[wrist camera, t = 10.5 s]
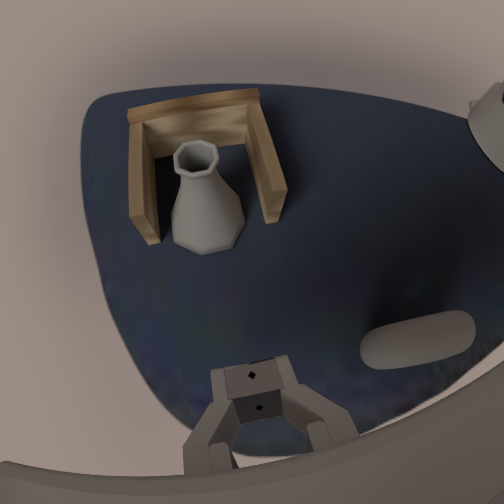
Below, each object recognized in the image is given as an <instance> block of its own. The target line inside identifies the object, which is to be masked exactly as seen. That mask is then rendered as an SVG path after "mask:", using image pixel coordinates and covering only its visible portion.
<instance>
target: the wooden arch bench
mask: <svg viewBox="0 0 504 504" xmlns="http://www.w3.org/2000/svg"><path fill="white" fill-rule="evenodd" d="M259 102H260V94H259V91H258V89H257V88H252V89H241V90H232V91H224V92H216V93H209V94H202V95H196V96H189V97H184V98H178V99H173V100H167V101H162V102H158V103H153V104H148V105H144V106H140V107H135V108H131V109H128V115H127V118H128V121H129V123H130V135H129V217H130V219H131V220H132V222H133V223H134V224H135V226H136V227H137V229H138V230H139V232H140V233H141V235H142V236H143V237H144V239H145V240H146V242H147V243H148V245H152V244H157V243H161V238H160V228H159V217H158V205H157V191H156V176H155V159H156V158H160V157H165V156H170V155H174V153H175V152H176V150H177V149H178V148H179V146H180V145H181V144H182V142H186V141H191V140H196V139H203V140H206V141H209V142H212V143H214V144H217V147H222V146H229V145H236V144H243V143H245V146H246V149H247V153H248V157H249V161H250V165H251V169H252V172H253V176H254V180H255V184H256V188H257V192H258V196H259V200H260V203H261V207H262V211H263V215H264V219H265V223H266V224H268V223H274V222H278V220H279V217H280V213H281V210H282V207H283V203H284V200H285V196H286V193H287V190H288V189H287V186H286V182H285V179H284V176H283V173H282V170H281V166H280V163H279V160H278V157H277V154H276V151H275V148H274V145H273V142H272V139H271V136H270V133H269V130H268V127H267V124H266V121H265V118H264V115H263V112H262V109H261V106H260V104H259Z"/></svg>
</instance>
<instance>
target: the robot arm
mask: <svg viewBox="0 0 504 504" xmlns="http://www.w3.org/2000/svg"><path fill="white" fill-rule="evenodd" d="M469 105H470V113H469V115H468V123H469V127H470V129H471V132H472V134H473V136H474V138H475V140H476V141H477V143H478V144H479V146H480V147H481V149H482V150H483V152H484V153H485V154H486V155H487V157H488V158H489V159H490V160H491V161H492V162H493V163H494V164H495V165H496V166H497V167H498V168H499V169H500V170H501V171H502V172H504V83H500V82H495V83H494V84H493V85H492V86H491V87H490V88H489V90H488V91H487V92H486V93H485V94H484V95H483V96H482V97H481V98H480V99H479V101H475V100H472V101H471V102H470V103H469ZM211 381H212V390H213V399H214V403H210V404H209V406H208V407H207V409H206V411H205V412H204V414H203V415H202V417H201V419H200V420H199V422H198V423H197V425H196V427H195V428H194V430H193V431H192V433H191V434H190V436H189V437H188V439H187V441H186V442H185V444H184V445H183V462H184V475H174V476H149V477H148V476H146V477H129V476H126V477H125V476H103V475H89V474H78V473H70V472H62V471H55V470H49V469H43V468H37V467H32V466H27V465H22V464H18V463H14V462H10V461H3V462H1V463H0V504H504V361H502V362H501V363H500V364H498V365H497V366H495V367H494V368H493V369H491V370H489V371H488V372H486V373H485V374H483V375H482V376H480V377H479V378H477V379H475V380H474V381H472V382H471V383H469V384H467V385H466V386H464V387H462V388H461V389H459V390H458V391H456V392H454V393H452V394H450V395H448V396H447V397H445V398H443V399H441V400H439V401H437V402H436V403H434V404H432V405H430V406H428V407H426V408H424V409H422V410H420V411H418V412H416V413H414V414H412V415H410V416H407V417H405V418H403V419H401V420H398V421H396V422H394V423H392V424H389V425H387V426H385V427H382V428H380V429H377V430H375V431H372V432H370V433H367V434H364V435H362V436H359V433H358V431H357V429H356V427H355V425H354V423H353V421H352V419H351V417H350V415H349V413H348V411H347V410H345V409H343V408H341V407H340V406H338V405H336V404H335V403H333V402H331V401H330V400H328V399H326V398H325V397H323V396H321V395H320V394H318V393H316V392H315V391H313V390H312V389H310V388H308V387H307V386H305V385H304V384H298V381H297V379H296V376H295V373H294V371H293V368H292V366H291V363H290V360H289V358H288V356H287V355H282V356H278V357H274V358H269V359H265V360H260V361H256V362H251V363H248V364H242V365H236V366H230V367H224V368H219V369H213V370H211ZM278 416H283V417H285V418H286V419H287V420H288V421H289V422H291V423H292V424H293V425H294V426H295V427H297V428H298V429H299V430H300V431H302V432H303V433H304V434H305V435H306V450H305V454H302V455H298V456H295V457H291V458H286V459H282V460H278V461H274V462H270V463H264V464H259V465H254V466H249V467H243V468H239V467H238V465H237V463H236V461H235V459H234V456H233V454H232V452H231V450H230V449H231V447H232V445H233V443H234V440H235V438H236V436H237V434H238V431H239V429H240V427H241V424H245V423H250V422H254V421H259V420H263V419H268V418H273V417H278Z"/></svg>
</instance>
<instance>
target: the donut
mask: <svg viewBox="0 0 504 504" xmlns="http://www.w3.org/2000/svg"><path fill="white" fill-rule="evenodd" d="M475 334H476V326H475V323H474V320H473V319H472V317H471V316H470V315H469V314H468V313H466V312H465V311H461V310H455V311H447V312H441V313H436V314H431V315H427V316H422V317H418V318H413V319H409V320H405V321H400V322H396V323H392V324H389V325H385V326H381V327H379V328H376V329H373V330H371V331H370V332H368V333H367V334H366V335H365V336H364V338H363V339H362V342H361V344H360V355H361V358H362V360H363V361H364V363H365V364H366V365H368V366H369V367H371V368H374V369H394V368H402V367H409V366H414V365H420V364H424V363H429V362H433V361H437V360H441V359H444V358H447V357H451V356H453V355H456V354H459V353H461V352H463V351H465V350H466V349H467V348H468V347H470V345H471V344H472V342H473V341H474V337H475Z"/></svg>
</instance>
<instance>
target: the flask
mask: <svg viewBox="0 0 504 504" xmlns="http://www.w3.org/2000/svg"><path fill="white" fill-rule="evenodd" d="M173 159H174V168H175V172H176V173H177V174H180V175H181V185H180V188H179V192H178V195H177V198H176V201H175V203H174V206H173V209H172V211H171V215H170V217H171V225H172V233H173V240H174V243H176V244H178V245H180V246H182V247H185V248H187V249H189V250H191V251H193V252H195V253H198V254H200V255H204V254H209V253H214V252H219V251H224V250H229V249H232V248H233V246H234V244H235V242H236V240H237V238H238V236H239V234H240V232H241V230H242V229H243V227H244V225H245V219H244V215H243V211H242V207H241V203H240V198H239V196H238V195H237V194H236V193H235V192H234V191H233V190H232V189H231V188H230V187H229V186H228V185H227V183H226V182H225V181H224V180H223V179H222V177H221V176H220V175H219V173H218V171H217V168H216V167H217V165H218V163H219V161H220V158H219V154H218V149H217V144H214V143H212V142H209V141H206V140H203V139H196V140H191V141H186V142H182V144H181V145H180V146H179V148H178V149H177V150H176V152H175V153H174V155H173Z"/></svg>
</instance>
